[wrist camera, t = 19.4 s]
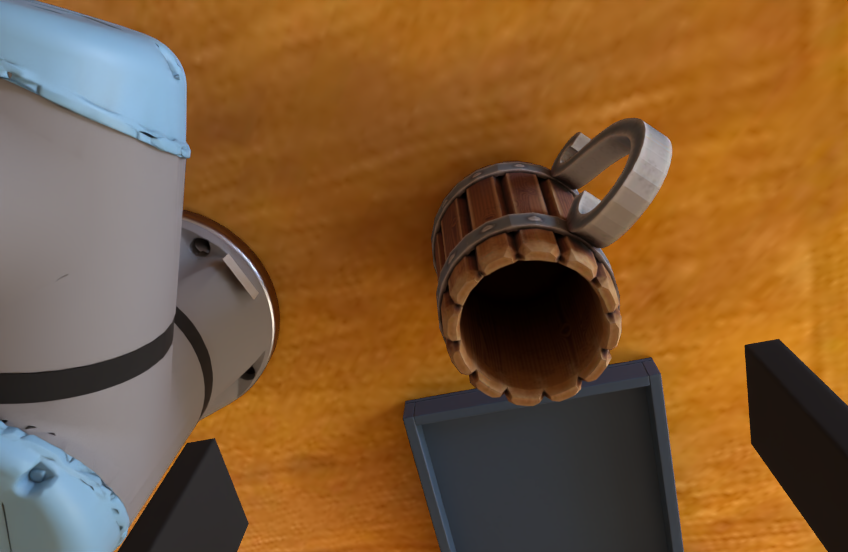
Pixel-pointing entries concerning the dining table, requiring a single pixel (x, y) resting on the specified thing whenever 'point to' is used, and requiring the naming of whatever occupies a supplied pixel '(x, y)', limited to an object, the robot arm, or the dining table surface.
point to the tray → (550, 468)
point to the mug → (541, 263)
